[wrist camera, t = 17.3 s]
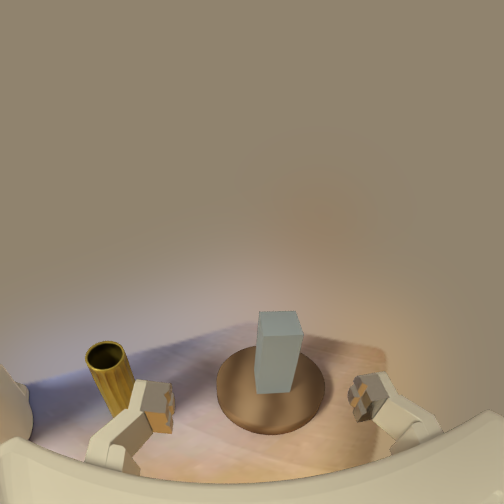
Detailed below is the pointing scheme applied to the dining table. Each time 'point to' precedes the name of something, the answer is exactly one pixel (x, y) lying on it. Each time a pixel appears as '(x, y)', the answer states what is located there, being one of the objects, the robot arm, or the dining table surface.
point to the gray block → (277, 351)
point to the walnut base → (268, 396)
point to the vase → (111, 374)
